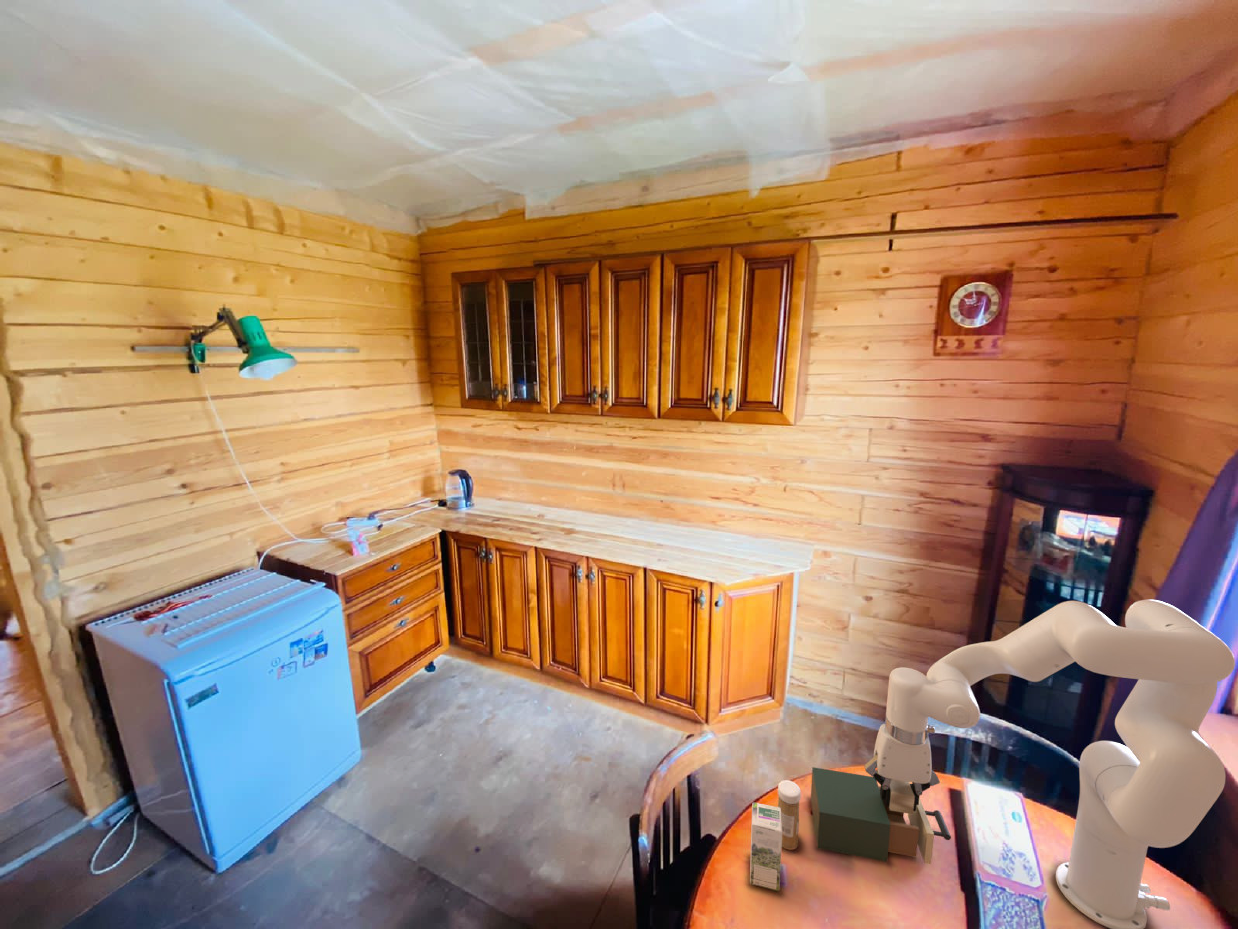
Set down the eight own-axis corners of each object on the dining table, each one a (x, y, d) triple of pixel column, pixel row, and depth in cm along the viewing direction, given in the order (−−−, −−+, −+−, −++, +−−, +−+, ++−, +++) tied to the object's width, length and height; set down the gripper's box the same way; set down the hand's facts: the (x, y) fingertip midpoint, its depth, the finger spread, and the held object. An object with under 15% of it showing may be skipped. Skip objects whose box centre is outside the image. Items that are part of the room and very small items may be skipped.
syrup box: (778, 865, 104) (781, 805, 101) (779, 893, 98) (782, 830, 96) (750, 859, 105) (752, 799, 103) (749, 886, 100) (751, 824, 97)
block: (906, 797, 109) (908, 780, 108) (913, 814, 105) (914, 796, 104) (884, 793, 110) (886, 776, 109) (889, 810, 106) (891, 792, 105)
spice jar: (802, 843, 108) (805, 789, 106) (788, 855, 106) (791, 800, 104) (785, 828, 112) (787, 775, 110) (771, 838, 110) (773, 785, 107)
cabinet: (872, 811, 116) (875, 777, 114) (887, 862, 104) (890, 824, 102) (810, 800, 119) (812, 767, 118) (817, 848, 107) (819, 812, 106)
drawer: (934, 821, 112) (937, 792, 111) (954, 869, 101) (957, 838, 100) (853, 806, 116) (855, 779, 115) (864, 851, 105) (866, 822, 104)
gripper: (944, 722, 106) (936, 796, 109) (857, 710, 110) (852, 782, 113) (958, 747, 99) (949, 826, 102) (865, 734, 103) (859, 810, 106)
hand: (898, 802), depth 108 cm, fingers closed on block, 4 cm apart
